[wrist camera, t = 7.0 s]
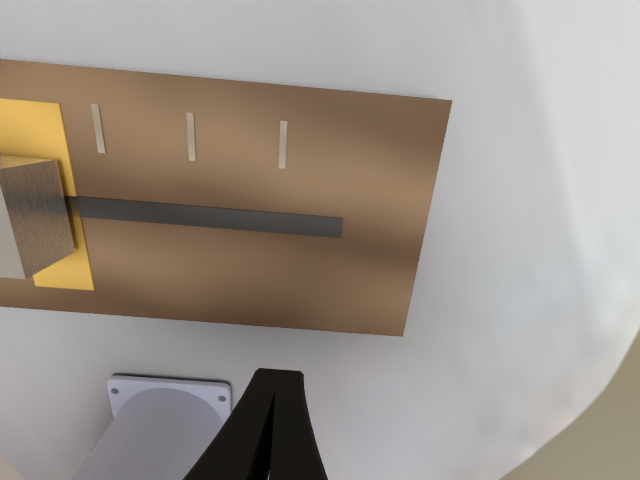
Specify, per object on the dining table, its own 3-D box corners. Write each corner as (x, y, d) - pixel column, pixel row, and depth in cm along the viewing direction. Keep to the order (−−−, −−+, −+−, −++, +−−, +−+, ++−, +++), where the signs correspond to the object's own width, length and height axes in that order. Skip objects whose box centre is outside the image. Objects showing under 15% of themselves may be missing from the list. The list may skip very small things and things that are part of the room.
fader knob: (75, 252, 16) (23, 280, 13) (11, 247, 16) (-53, 274, 13) (56, 159, 14) (-7, 170, 11) (-14, 153, 14) (-94, 162, 11)
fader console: (395, 315, 20) (403, 337, 18) (-42, 282, 19) (-83, 301, 17) (436, 102, 15) (453, 100, 14) (-123, 51, 15) (-191, 41, 13)
